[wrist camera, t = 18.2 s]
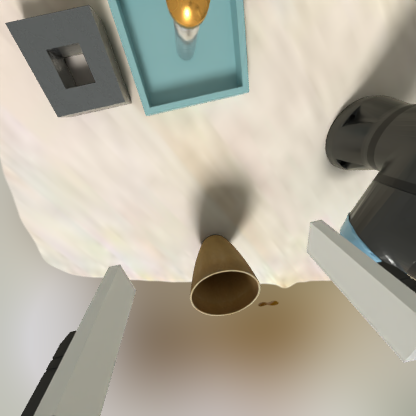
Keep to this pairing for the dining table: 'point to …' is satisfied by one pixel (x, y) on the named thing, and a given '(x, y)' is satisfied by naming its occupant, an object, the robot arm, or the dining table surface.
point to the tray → (169, 59)
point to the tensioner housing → (65, 47)
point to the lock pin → (187, 23)
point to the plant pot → (222, 279)
